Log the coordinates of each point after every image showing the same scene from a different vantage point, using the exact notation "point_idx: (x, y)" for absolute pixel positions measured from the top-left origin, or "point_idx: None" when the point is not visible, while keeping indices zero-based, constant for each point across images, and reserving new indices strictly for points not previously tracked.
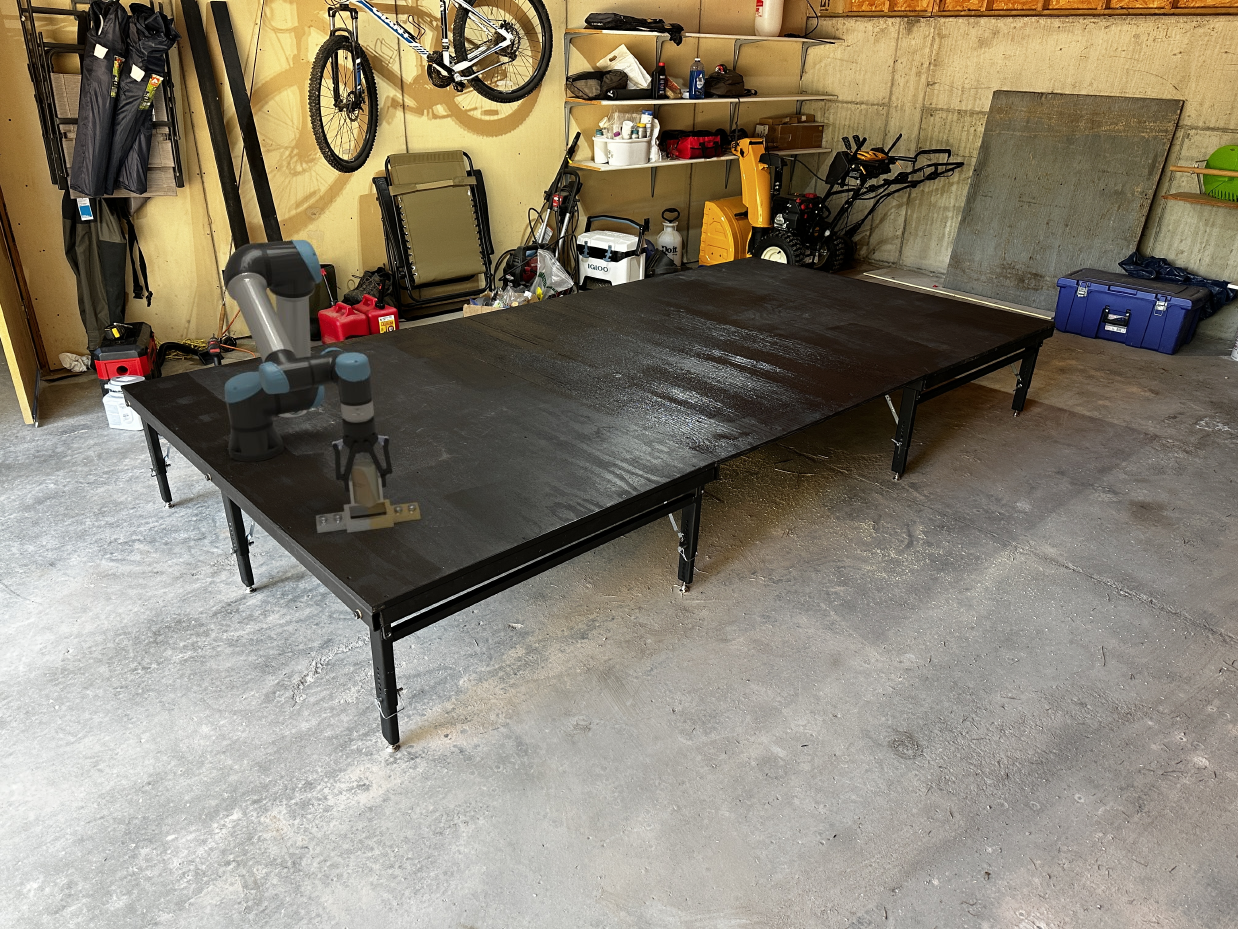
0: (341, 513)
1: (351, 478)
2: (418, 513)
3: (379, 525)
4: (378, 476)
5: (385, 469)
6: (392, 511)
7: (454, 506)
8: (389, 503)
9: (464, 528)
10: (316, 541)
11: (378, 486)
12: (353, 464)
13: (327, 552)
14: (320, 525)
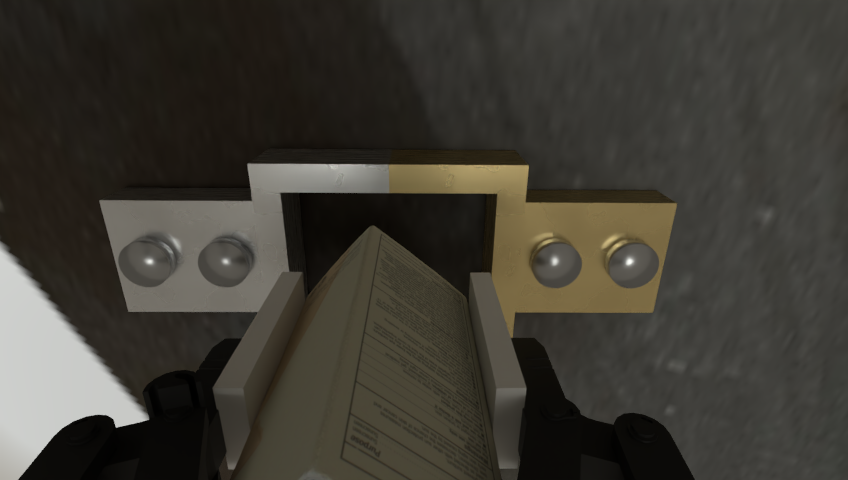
0: (244, 216)
1: (247, 416)
2: (641, 309)
3: None
4: (500, 437)
5: (595, 478)
6: (520, 268)
7: (842, 214)
8: (521, 221)
9: (778, 408)
10: (158, 355)
11: (479, 364)
12: None
13: None
14: (147, 311)
